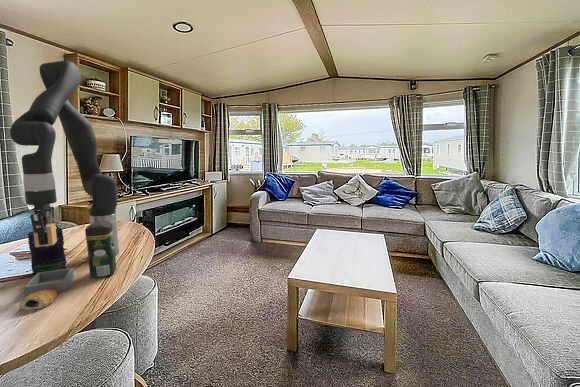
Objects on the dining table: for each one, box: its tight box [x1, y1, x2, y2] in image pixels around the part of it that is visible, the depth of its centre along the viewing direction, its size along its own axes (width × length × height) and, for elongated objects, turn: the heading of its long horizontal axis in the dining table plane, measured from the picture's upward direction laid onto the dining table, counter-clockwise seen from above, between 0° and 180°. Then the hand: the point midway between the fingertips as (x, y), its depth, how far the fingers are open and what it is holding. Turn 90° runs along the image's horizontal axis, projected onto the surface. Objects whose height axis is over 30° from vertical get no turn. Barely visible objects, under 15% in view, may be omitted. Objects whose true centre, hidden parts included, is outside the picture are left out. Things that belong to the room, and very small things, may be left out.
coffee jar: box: [84, 221, 117, 279], centre depth 110 cm, size 10×8×19 cm
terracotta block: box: [32, 222, 57, 247], centre depth 99 cm, size 4×4×6 cm
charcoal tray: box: [23, 267, 76, 298], centre depth 101 cm, size 12×10×3 cm
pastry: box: [19, 289, 58, 311], centre depth 91 cm, size 9×7×4 cm
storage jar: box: [27, 227, 68, 277], centre depth 112 cm, size 10×10×15 cm
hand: (46, 241), depth 99 cm, fingers closed on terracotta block, 4 cm apart
